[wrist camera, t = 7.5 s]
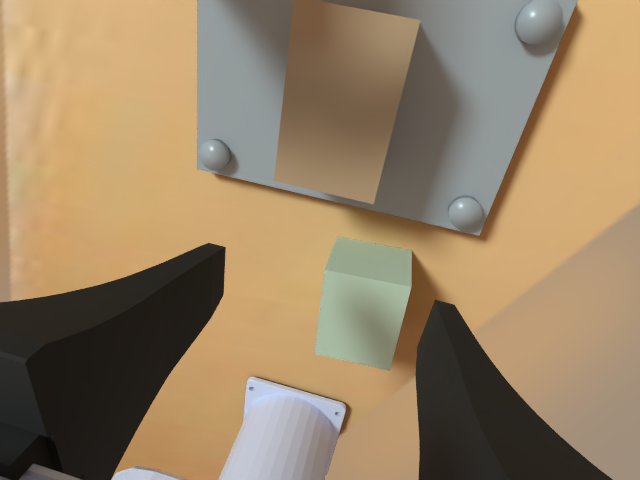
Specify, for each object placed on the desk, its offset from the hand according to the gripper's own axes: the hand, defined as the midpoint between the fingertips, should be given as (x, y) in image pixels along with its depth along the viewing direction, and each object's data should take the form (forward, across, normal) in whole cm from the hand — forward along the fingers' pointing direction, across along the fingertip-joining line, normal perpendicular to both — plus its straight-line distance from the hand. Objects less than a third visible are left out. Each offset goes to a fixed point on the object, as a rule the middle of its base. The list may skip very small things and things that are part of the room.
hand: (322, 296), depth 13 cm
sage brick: (+10, -2, +6) cm, 12 cm away
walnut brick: (+9, +1, -5) cm, 11 cm away
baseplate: (+10, +1, -5) cm, 11 cm away
